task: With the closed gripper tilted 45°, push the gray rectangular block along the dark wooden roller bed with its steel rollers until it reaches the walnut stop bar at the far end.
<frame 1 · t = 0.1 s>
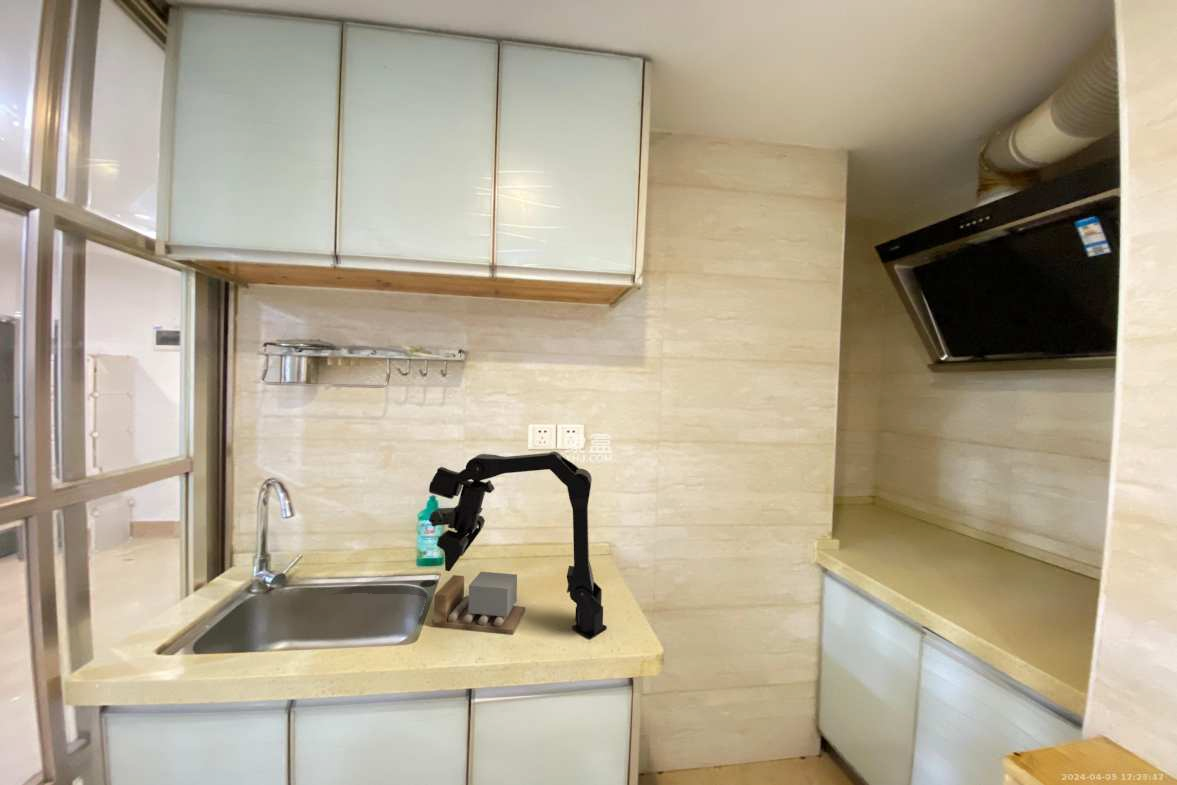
hand: (454, 562, 111), 15 cm above the worktop, tool pointing down, fingers open, 9 cm apart
roller bed: (480, 618, 114), on the worktop
gray rectangular block: (493, 593, 113), point 7 cm above the worktop, slide at 0.0 cm
shard: (495, 591, 130), on the worktop
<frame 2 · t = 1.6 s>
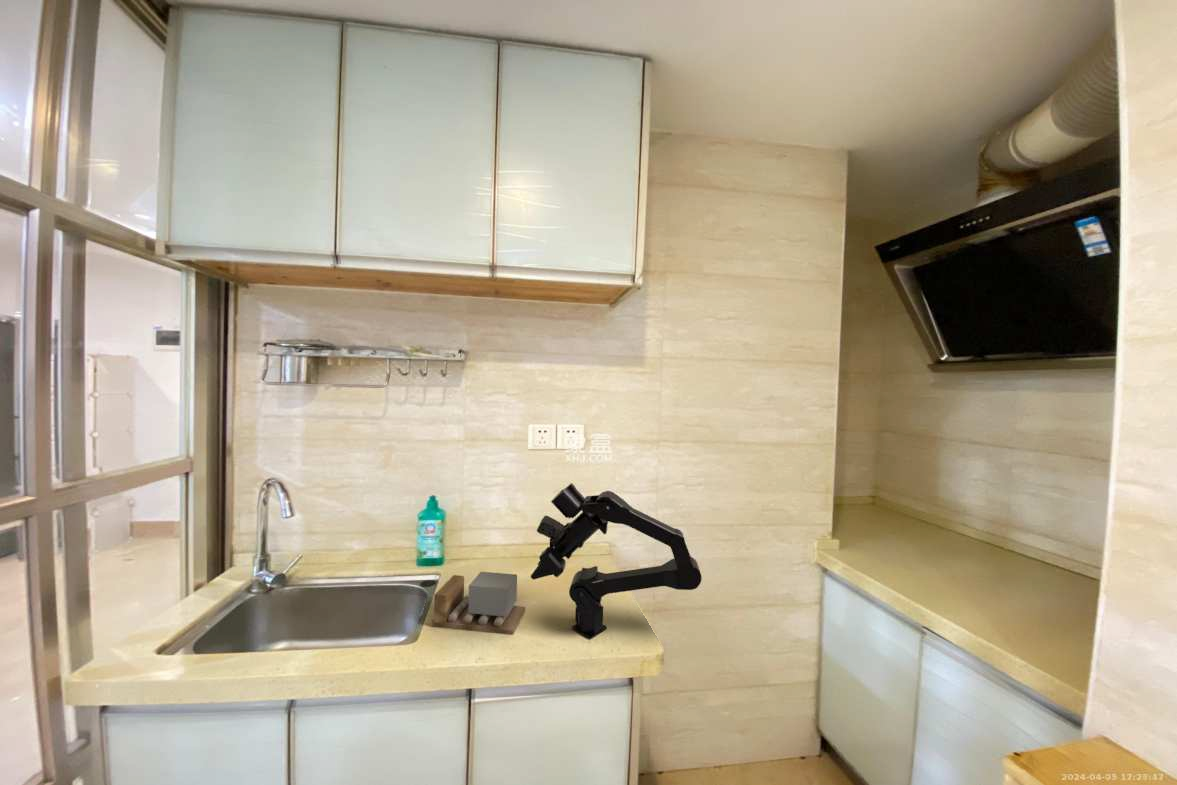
hand: (535, 571, 112), 14 cm above the worktop, tool tilted 45°, fingers open, 7 cm apart
nothing on the worktop moved.
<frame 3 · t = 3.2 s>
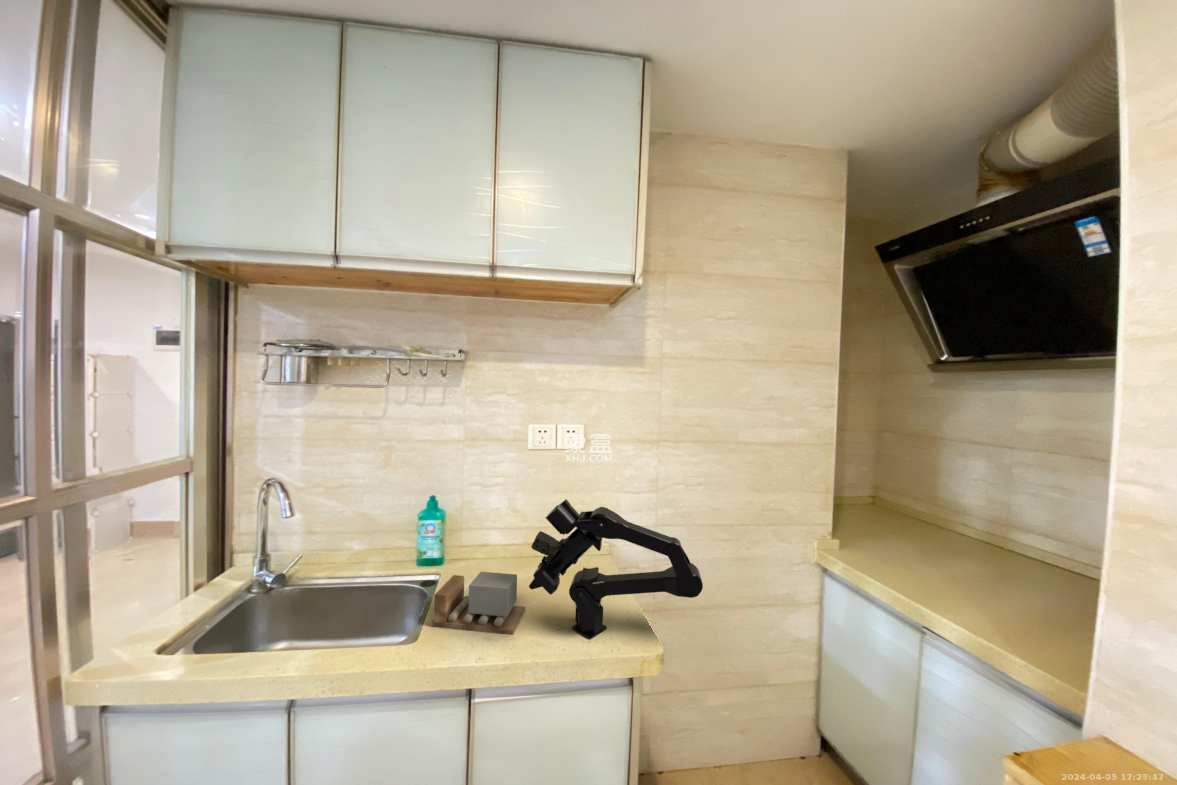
hand: (530, 587, 112), 9 cm above the worktop, tool tilted 45°, fingers closed
nothing on the worktop moved.
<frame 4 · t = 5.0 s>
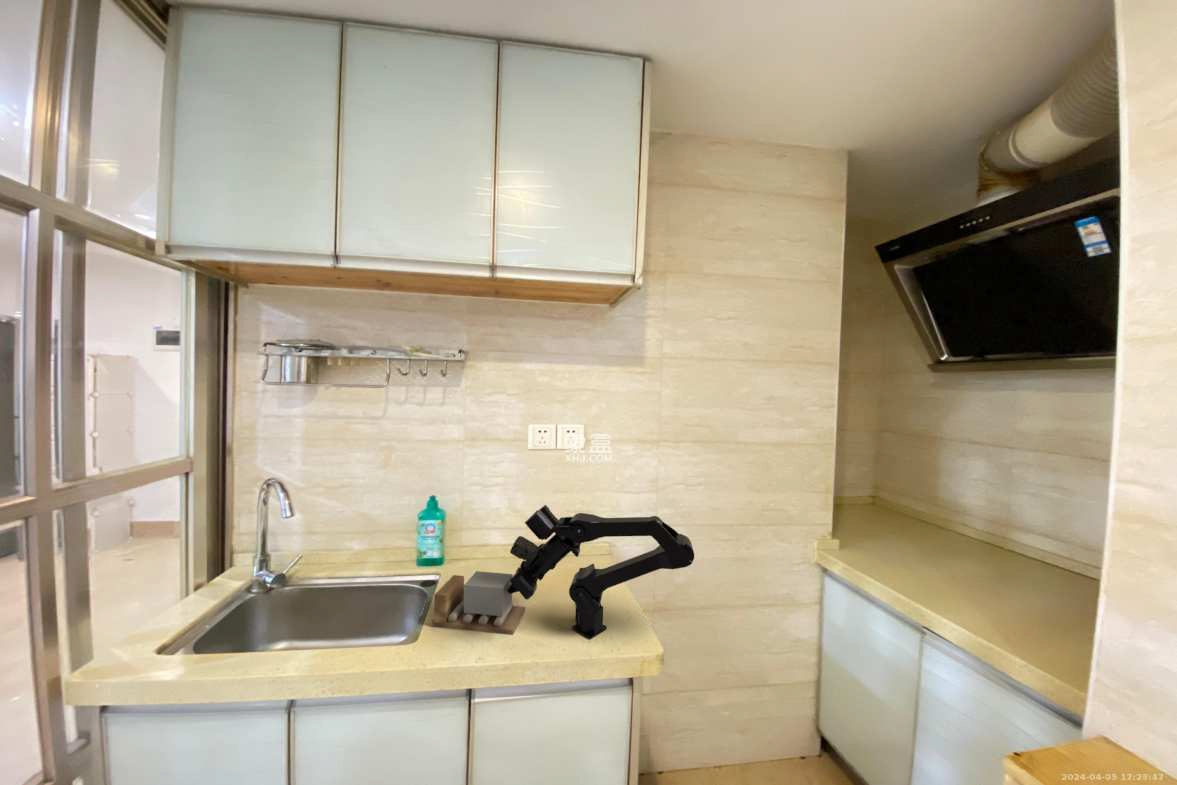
hand: (508, 591, 113), 8 cm above the worktop, tool tilted 45°, fingers closed, pressing on gray rectangular block
gray rectangular block: (488, 592, 113), point 7 cm above the worktop, slide at 1.3 cm, touching gripper
everything else where it was.
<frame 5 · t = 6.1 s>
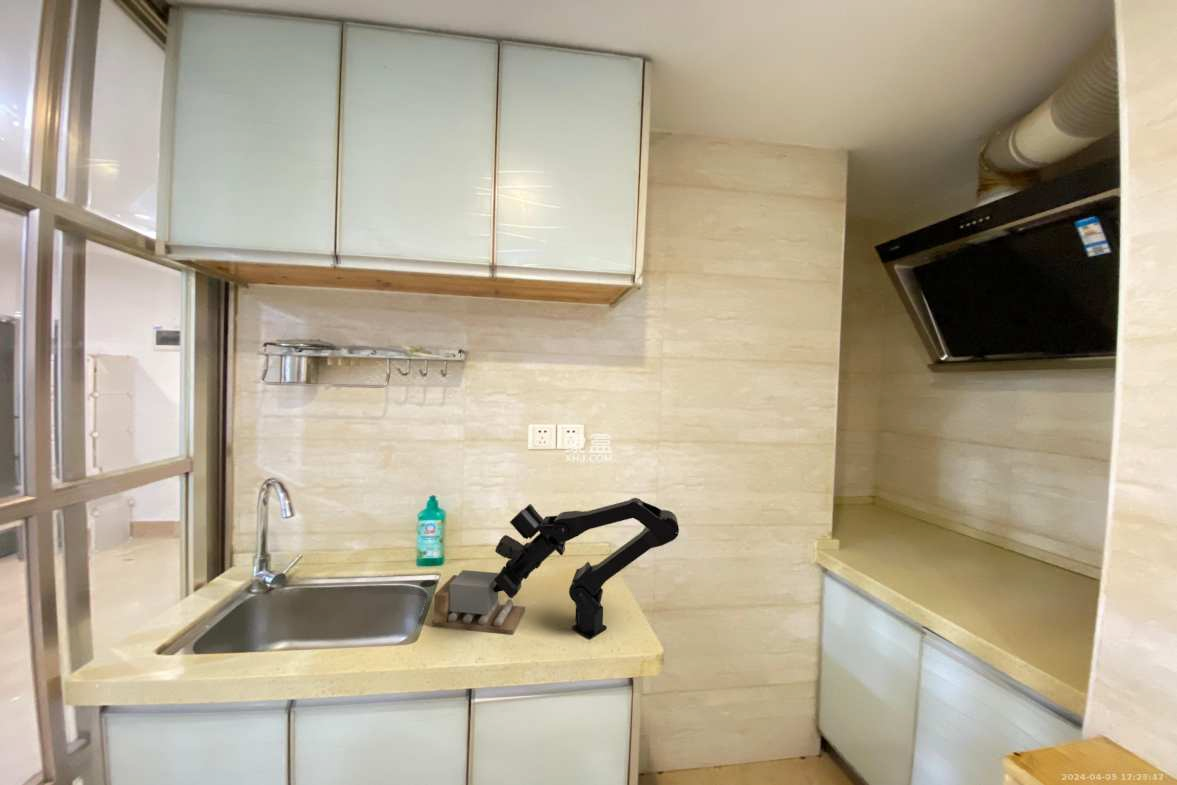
hand: (494, 590, 113), 8 cm above the worktop, tool tilted 45°, fingers closed, pressing on gray rectangular block
gray rectangular block: (474, 591, 114), point 7 cm above the worktop, slide at 5.0 cm, touching gripper
everything else where it was.
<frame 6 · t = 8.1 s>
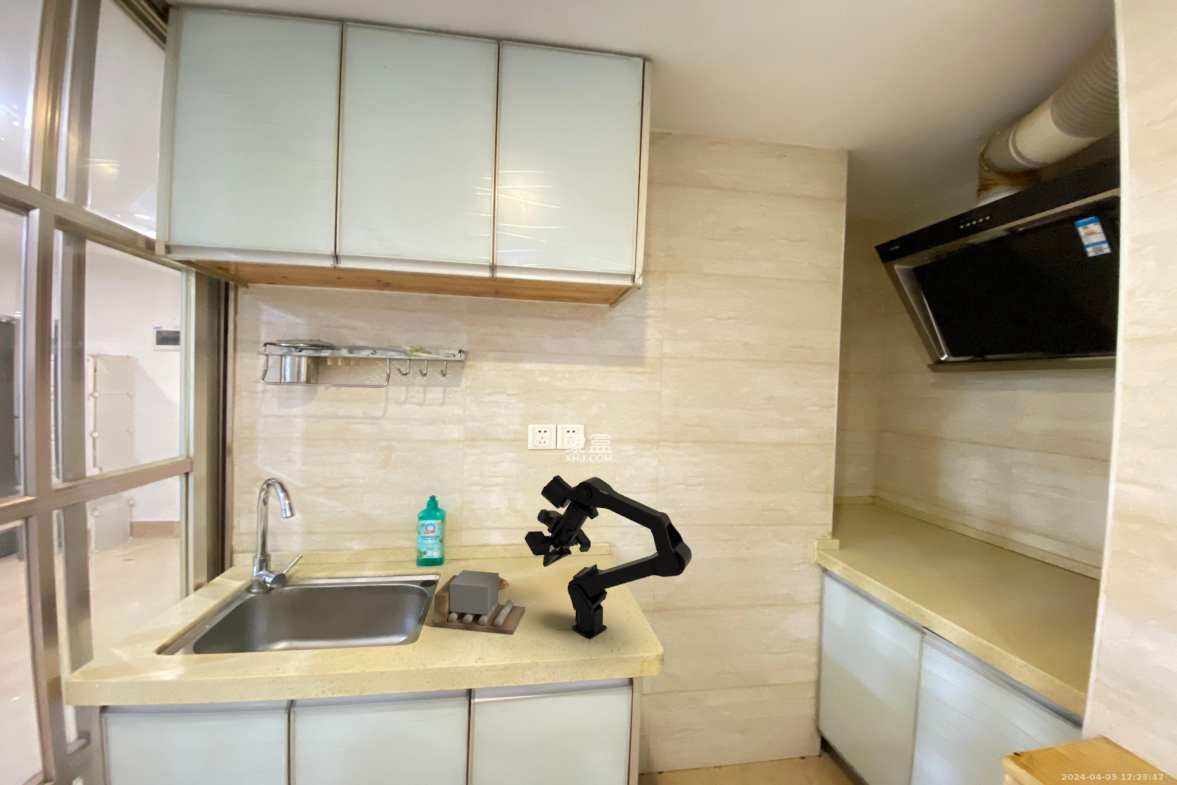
hand: (544, 565, 116), 13 cm above the worktop, tool tilted 30°, fingers closed
gray rectangular block: (474, 591, 114), point 7 cm above the worktop, slide at 5.0 cm
everything else where it was.
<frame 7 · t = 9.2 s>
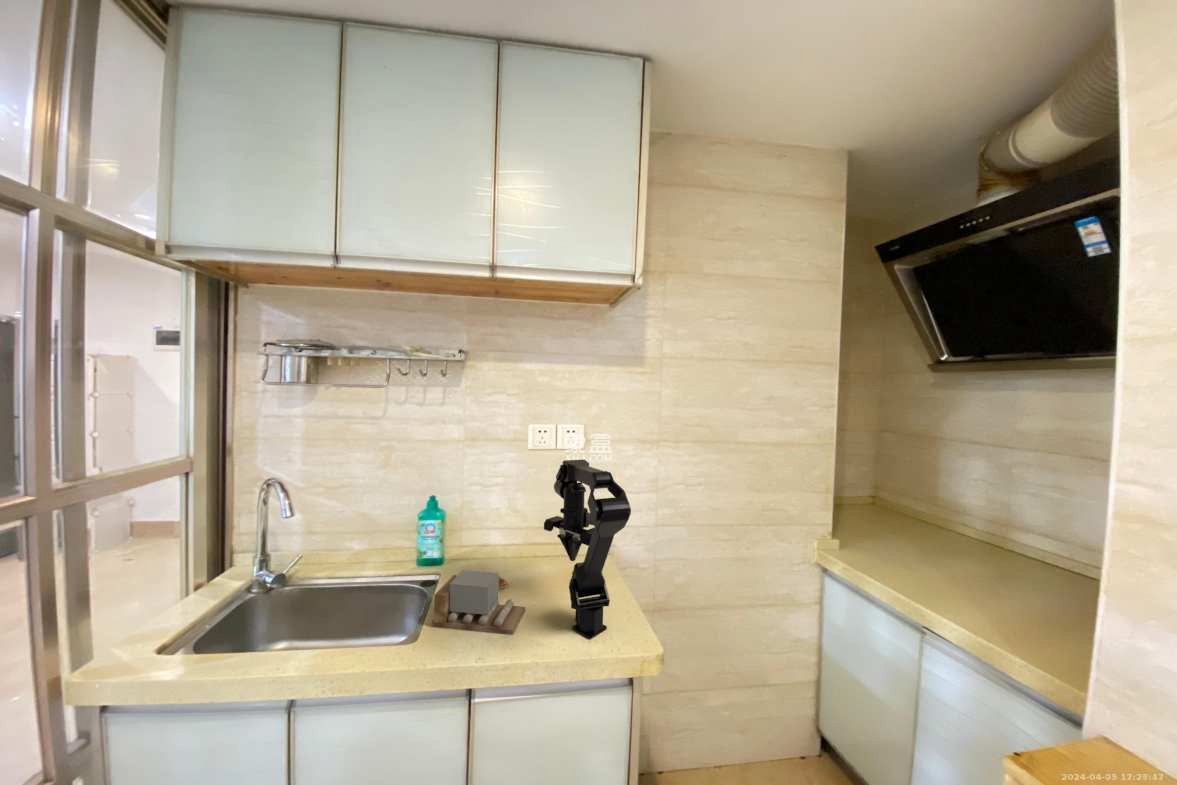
hand: (572, 560, 122), 12 cm above the worktop, tool pointing down, fingers closed
nothing on the worktop moved.
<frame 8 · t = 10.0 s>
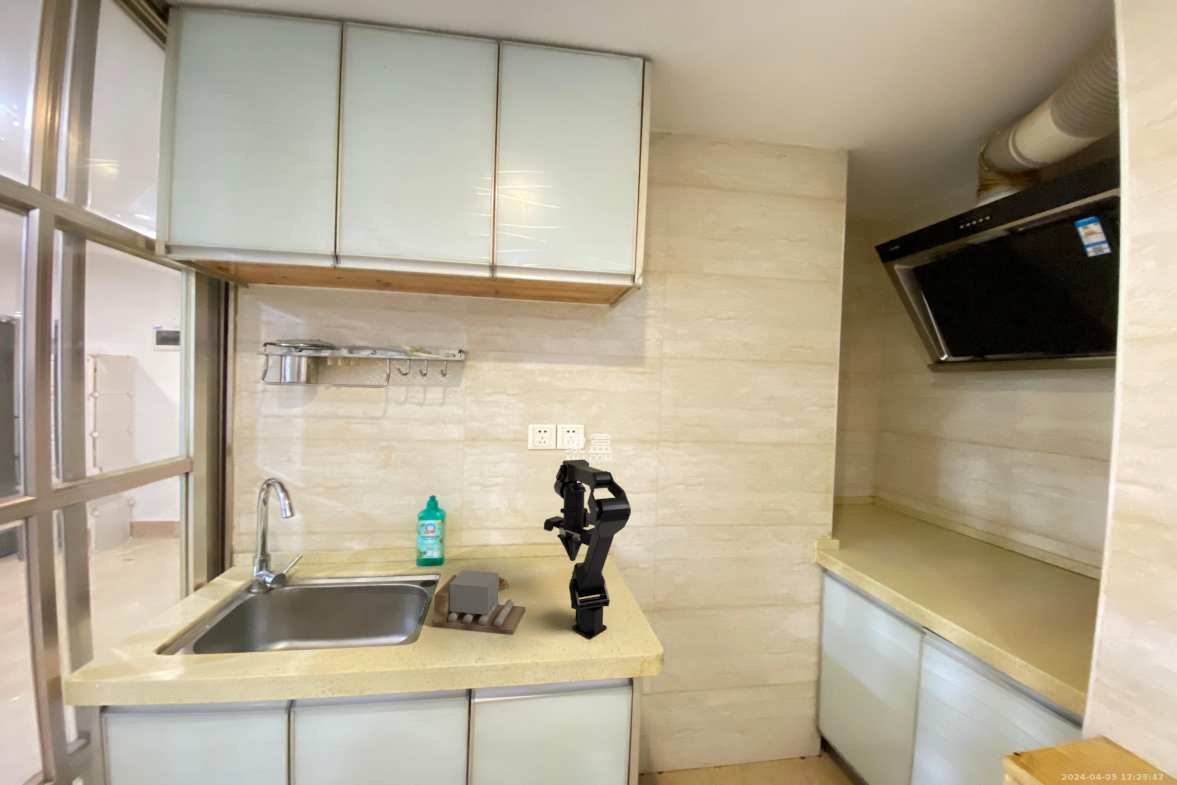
hand: (572, 560, 122), 12 cm above the worktop, tool pointing down, fingers closed
nothing on the worktop moved.
at the end: gray rectangular block slide at 5.0 cm; gray rectangular block moved 5.0 cm from its start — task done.
